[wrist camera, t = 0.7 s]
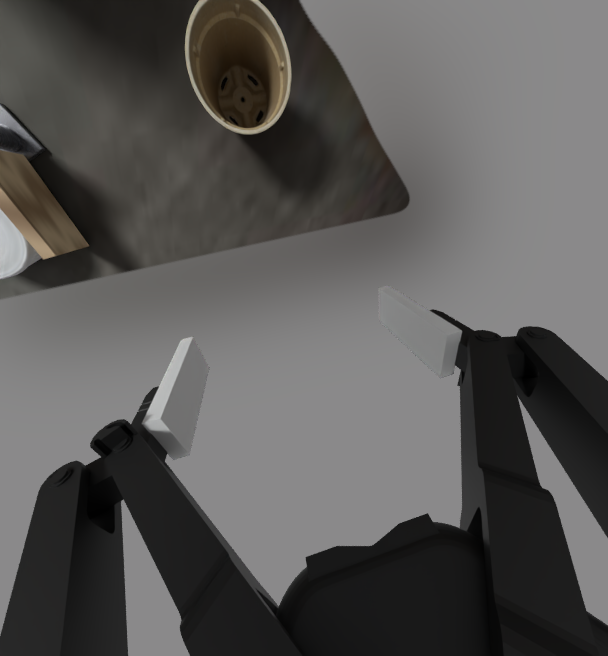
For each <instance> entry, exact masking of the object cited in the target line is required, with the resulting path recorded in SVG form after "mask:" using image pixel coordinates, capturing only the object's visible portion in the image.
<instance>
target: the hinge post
mask: <svg viewBox="0 0 608 656" xmlns="http://www.w3.org/2000/svg"><path fill="white" fill-rule="evenodd" d="M0 150H2V151H7V152H12V153H17V154H22V155H24V156H25V157H26V159H27V160H28V162H31V161H32V160H33V159H35V158H36V157H37V156H38V155H40V154H41V153H42V152H44V151H45V150H46V149H45V148H44V147H43V146H42V144H41V143H40V142H39V141H38V140H37V139H36V138H35V137H34V136H33V135H32V134H31V133H30V132H29V131H28V130H27V129H26V128H25V127H24V126H23V125H22V123H21V122H20V121H19V120H18V119H17V118H16V117H15V116H14V115H13V114H12V113H11V112H10V111H9V110H8V109H7V108H6V107H5V106H4V105H3V104H1V103H0Z"/></svg>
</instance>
